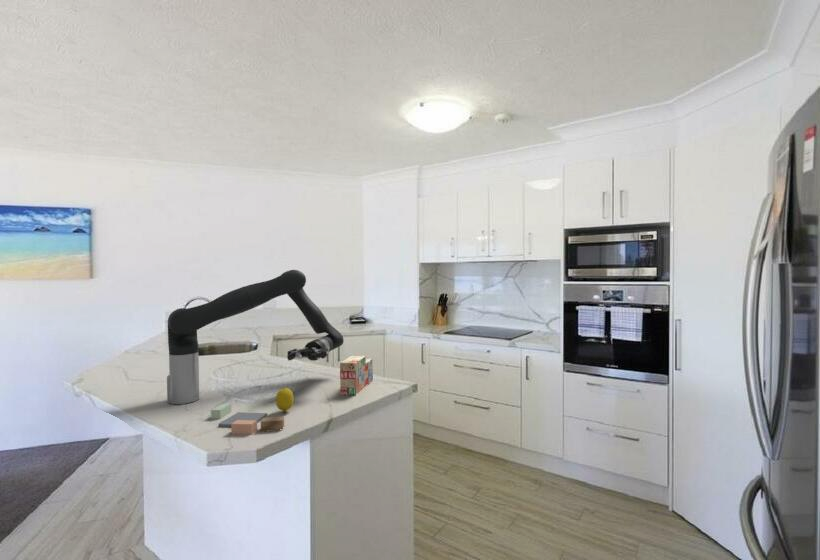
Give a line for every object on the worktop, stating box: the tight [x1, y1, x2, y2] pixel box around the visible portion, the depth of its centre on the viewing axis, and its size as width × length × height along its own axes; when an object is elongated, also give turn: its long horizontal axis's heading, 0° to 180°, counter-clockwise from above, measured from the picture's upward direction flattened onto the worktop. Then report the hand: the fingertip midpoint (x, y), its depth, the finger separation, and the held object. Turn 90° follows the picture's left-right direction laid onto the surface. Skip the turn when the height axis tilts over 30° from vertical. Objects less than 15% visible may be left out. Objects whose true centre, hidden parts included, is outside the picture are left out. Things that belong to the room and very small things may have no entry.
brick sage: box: [210, 403, 232, 420], centre depth 125 cm, size 6×3×3 cm, turn 174°
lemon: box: [275, 386, 295, 413], centre depth 127 cm, size 6×6×8 cm
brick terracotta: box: [230, 420, 258, 435], centre depth 111 cm, size 6×3×3 cm, turn 84°
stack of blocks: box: [339, 355, 374, 396], centre depth 155 cm, size 21×6×12 cm, turn 168°
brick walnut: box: [260, 416, 285, 432], centre depth 113 cm, size 6×3×3 cm, turn 100°
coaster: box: [218, 411, 268, 428], centre depth 120 cm, size 10×10×1 cm
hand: (300, 357), depth 139 cm, fingers open, 8 cm apart
